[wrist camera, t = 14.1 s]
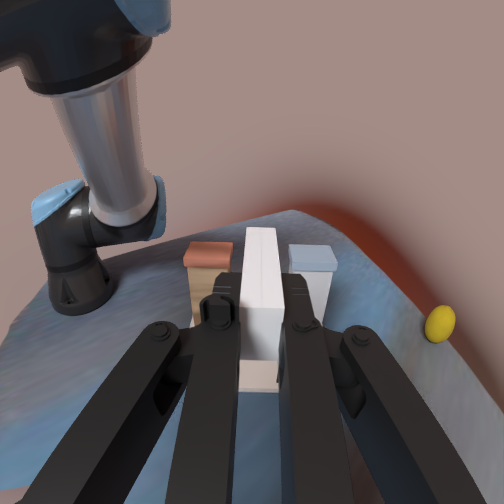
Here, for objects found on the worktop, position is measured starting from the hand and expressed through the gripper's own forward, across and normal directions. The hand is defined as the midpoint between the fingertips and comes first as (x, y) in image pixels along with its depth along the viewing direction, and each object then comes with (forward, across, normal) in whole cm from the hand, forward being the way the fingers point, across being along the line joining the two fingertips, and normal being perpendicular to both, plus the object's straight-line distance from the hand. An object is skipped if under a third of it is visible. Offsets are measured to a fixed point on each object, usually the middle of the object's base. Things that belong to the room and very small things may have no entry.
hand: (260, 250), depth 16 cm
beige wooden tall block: (+18, -6, -25) cm, 31 cm away
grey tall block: (+18, +7, -25) cm, 31 cm away
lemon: (+16, +32, -26) cm, 45 cm away
